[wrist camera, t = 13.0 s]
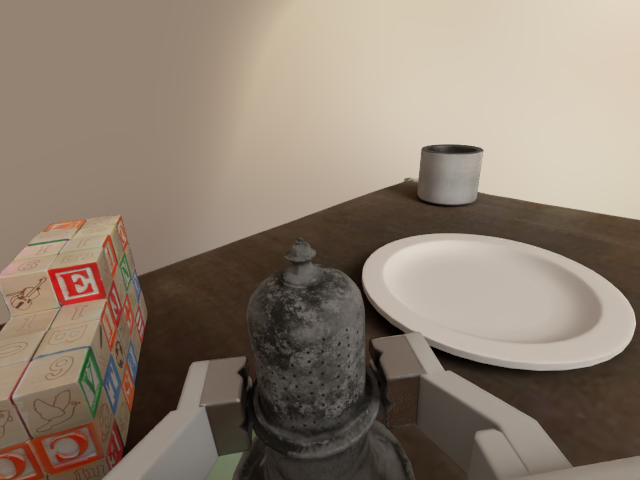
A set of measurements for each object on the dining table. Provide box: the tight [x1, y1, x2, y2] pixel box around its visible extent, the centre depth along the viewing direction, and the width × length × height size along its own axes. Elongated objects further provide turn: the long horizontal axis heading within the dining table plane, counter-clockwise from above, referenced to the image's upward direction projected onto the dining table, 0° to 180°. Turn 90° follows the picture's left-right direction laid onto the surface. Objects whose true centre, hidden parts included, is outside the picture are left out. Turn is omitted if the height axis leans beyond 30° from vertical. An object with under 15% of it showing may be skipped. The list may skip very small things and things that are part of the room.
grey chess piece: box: [232, 237, 415, 480], centre depth 10 cm, size 6×6×12 cm
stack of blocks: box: [0, 215, 148, 480], centre depth 28 cm, size 21×6×12 cm, turn 20°
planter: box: [417, 145, 483, 206], centre depth 76 cm, size 13×12×11 cm
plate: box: [362, 233, 636, 371], centre depth 42 cm, size 28×28×2 cm
